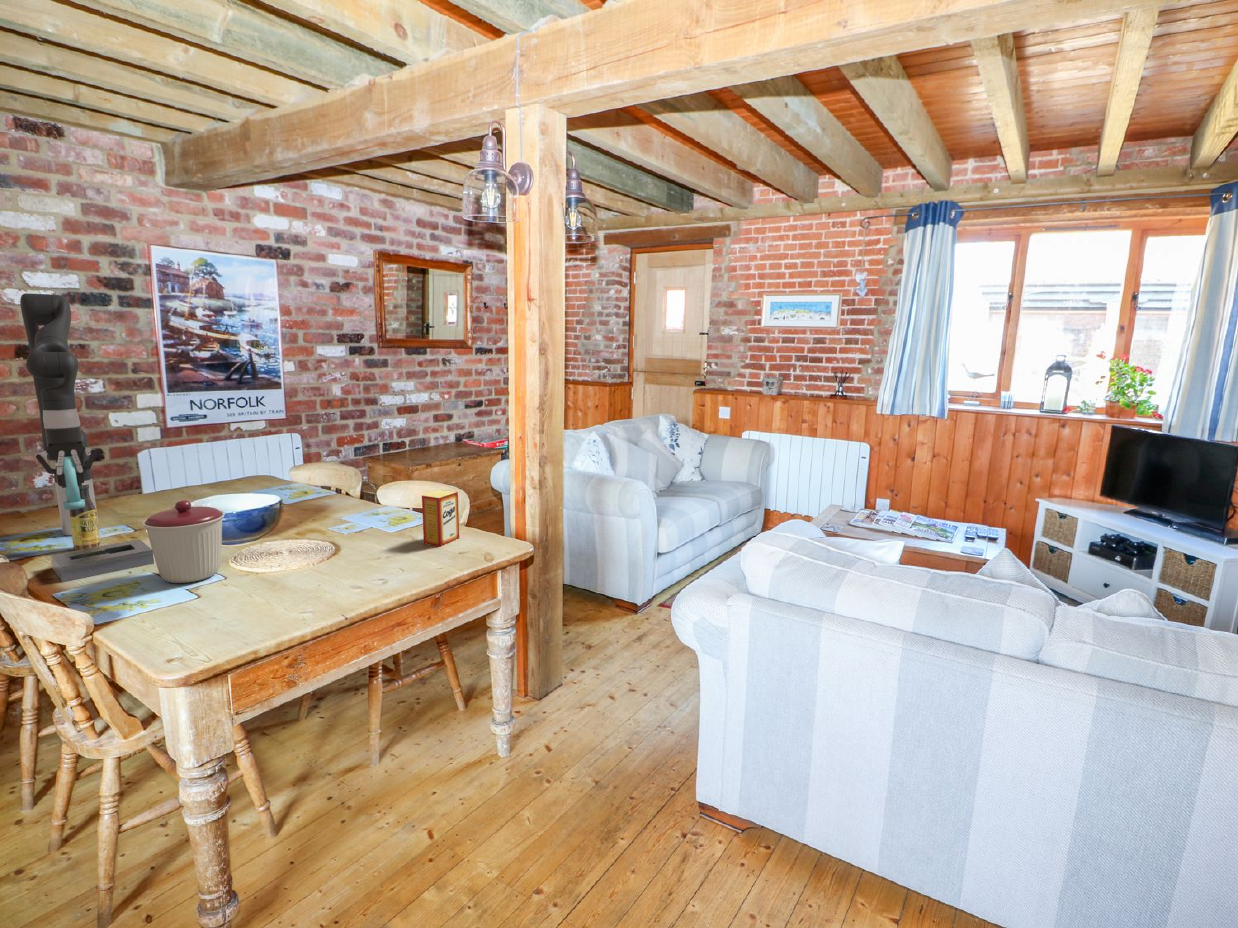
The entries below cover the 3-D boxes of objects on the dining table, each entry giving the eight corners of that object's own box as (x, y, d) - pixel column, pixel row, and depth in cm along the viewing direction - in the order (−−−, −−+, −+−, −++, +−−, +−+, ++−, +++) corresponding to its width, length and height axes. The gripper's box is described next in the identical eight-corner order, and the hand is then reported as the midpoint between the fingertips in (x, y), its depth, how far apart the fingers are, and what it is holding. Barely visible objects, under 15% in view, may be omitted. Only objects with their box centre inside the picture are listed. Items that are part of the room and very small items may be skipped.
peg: (62, 507, 181) (54, 455, 178) (83, 504, 185) (76, 453, 182) (65, 510, 178) (57, 458, 176) (86, 507, 182) (79, 456, 179)
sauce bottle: (85, 552, 190) (75, 487, 186) (68, 550, 191) (58, 485, 188) (106, 545, 196) (97, 482, 193) (90, 544, 198) (80, 481, 194)
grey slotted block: (53, 568, 177) (50, 555, 176) (141, 551, 192) (139, 539, 191) (62, 582, 168) (60, 567, 167) (154, 563, 182) (152, 549, 182)
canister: (173, 594, 161) (163, 513, 157) (136, 580, 170) (125, 503, 166) (244, 572, 177) (237, 498, 172) (207, 560, 185) (199, 489, 181)
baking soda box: (443, 535, 212) (441, 488, 209) (459, 538, 210) (457, 490, 206) (423, 543, 204) (421, 494, 200) (440, 546, 201) (438, 497, 198)
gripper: (91, 421, 185) (100, 480, 188) (26, 426, 174) (36, 488, 178) (97, 424, 180) (105, 484, 183) (30, 429, 169) (40, 493, 173)
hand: (71, 486), depth 180 cm, fingers closed on peg, 3 cm apart
